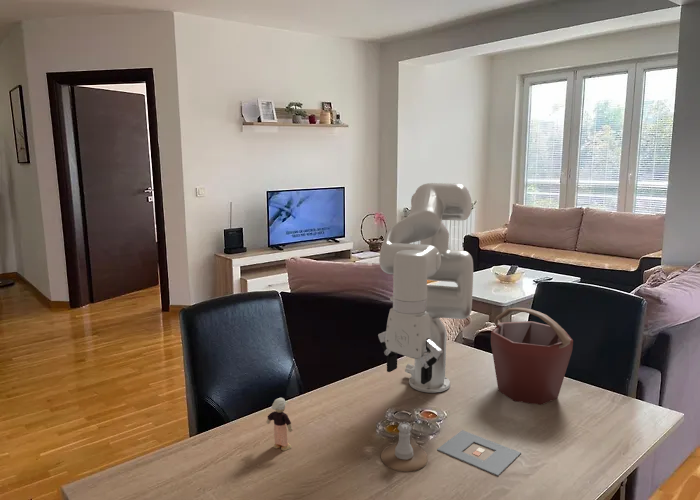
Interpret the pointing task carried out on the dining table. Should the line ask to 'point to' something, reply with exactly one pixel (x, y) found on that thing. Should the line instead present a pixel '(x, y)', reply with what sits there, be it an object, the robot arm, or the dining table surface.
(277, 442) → the grandmother figurine
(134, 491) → the dining table surface
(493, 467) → the grey frame plate
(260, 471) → the dining table surface
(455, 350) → the dining table surface
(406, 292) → the robot arm
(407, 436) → the rook chess piece
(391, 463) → the walnut coaster
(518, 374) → the bucket
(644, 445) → the dining table surface
